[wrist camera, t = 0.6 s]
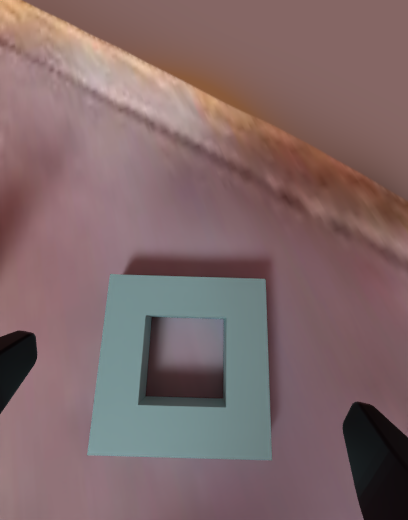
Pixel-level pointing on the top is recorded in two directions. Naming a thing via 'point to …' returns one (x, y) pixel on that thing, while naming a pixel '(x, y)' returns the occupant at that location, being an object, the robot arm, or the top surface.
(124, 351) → the collar
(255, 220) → the top surface
